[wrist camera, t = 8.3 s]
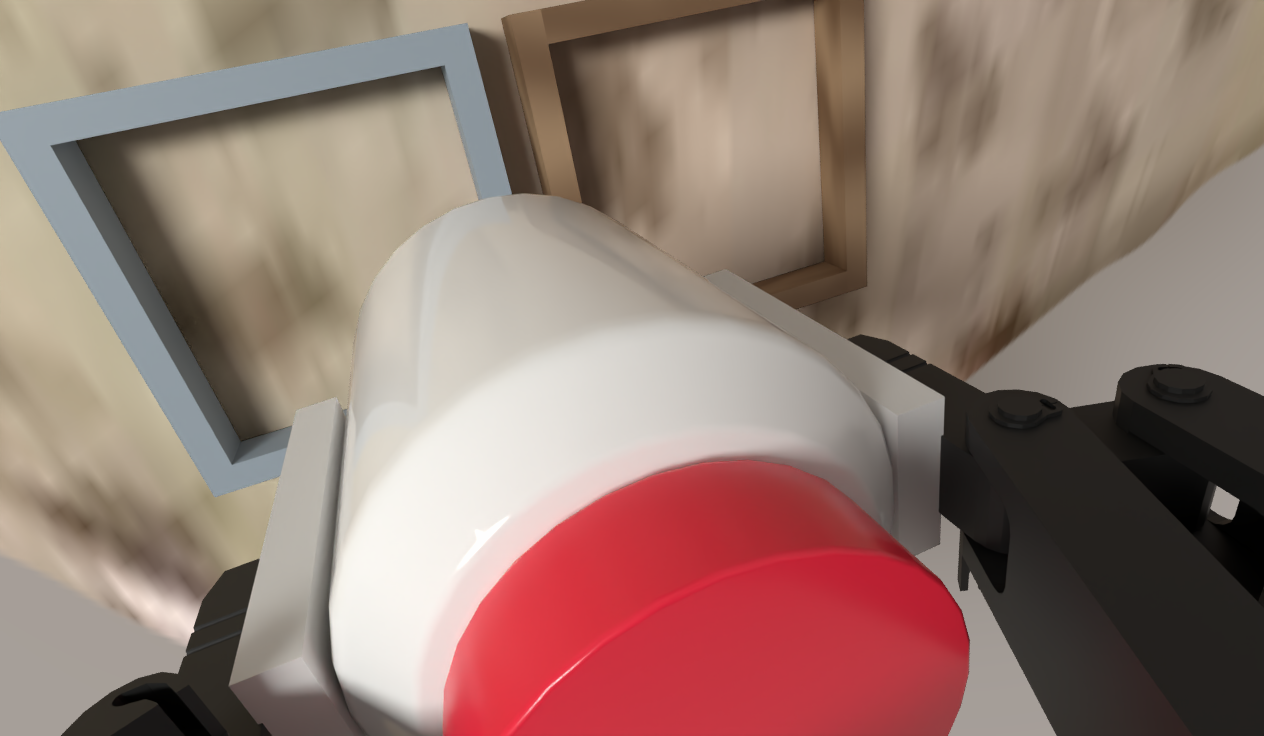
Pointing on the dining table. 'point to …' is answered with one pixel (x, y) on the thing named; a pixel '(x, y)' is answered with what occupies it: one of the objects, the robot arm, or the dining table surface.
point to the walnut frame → (840, 115)
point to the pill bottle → (615, 505)
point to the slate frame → (111, 260)
